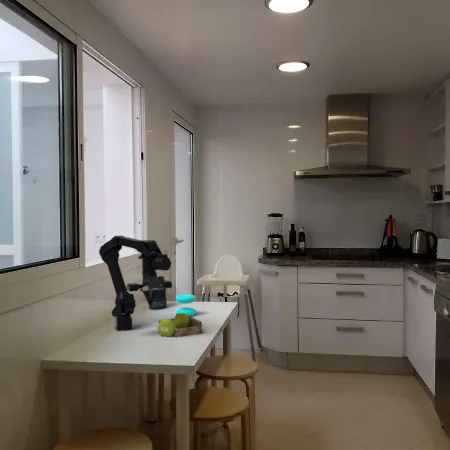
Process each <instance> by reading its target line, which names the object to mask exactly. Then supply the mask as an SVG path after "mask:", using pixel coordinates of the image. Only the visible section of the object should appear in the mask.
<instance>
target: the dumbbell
mask: <svg viewBox="0 0 450 450" xmlns="http://www.w3.org/2000/svg"><path fill="white" fill-rule="evenodd" d="M171 319H172V318H163V319H160V320H161V321H160V323H159V322H158V325H157V329H158V332H159V334H160V336H161V337H164V336H166V338H170V337H172V336H173V335H174V334H175V329H182V328H188V326H189V324H190V319H189V317H188V315H187V314H185V313H178V314H176V313H175V316H174V320H173V321H172V320H171Z"/></svg>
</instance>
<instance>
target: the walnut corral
mask: <svg viewBox="0 0 450 450" xmlns="http://www.w3.org/2000/svg"><path fill="white" fill-rule="evenodd" d="M188 317H189V319H190V324H189V326H188V328H182V329H175V332H174V337H175V338H179V337H178V336H181V337H187V336H194V335H200V334H201V335H202V334H203V322H202V321H201V320H198V319H196V318H195V317H193V316H191V317H190V316H188ZM174 318H175V317H174ZM174 318H170V319H171V320H172V321H173V320H174ZM161 320H162V319H158V324H159V323H160V321H161Z"/></svg>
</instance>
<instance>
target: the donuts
mask: <svg viewBox="0 0 450 450" xmlns="http://www.w3.org/2000/svg"><path fill="white" fill-rule="evenodd" d="M196 299H197V297H196V296H195V295H193V294H186V293H185V294H179V295H176V297H175V301H176V302H177V303H179V304H183V305H185V304H192V303H194V302H195V301H196ZM178 313H185V314H187V315H188V316H190V317H194V316H195V315H196V314H197V310H196V309H195V308H193V307H187V306H186V307H180V308H178V309H177V310H176V312H175V315H176V314H178Z"/></svg>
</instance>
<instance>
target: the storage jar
mask: <svg viewBox="0 0 450 450" xmlns="http://www.w3.org/2000/svg"><path fill="white" fill-rule="evenodd" d="M158 289H159V291H157V292H156V294H155V296H154V299H153V302H152V305H151V306H149V305H148V309H149V310H151V311H159V310H165V309H167V307H168V306H167V295H166V294H167V288H165V287H160V288H158ZM148 290H149V288H148Z"/></svg>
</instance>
